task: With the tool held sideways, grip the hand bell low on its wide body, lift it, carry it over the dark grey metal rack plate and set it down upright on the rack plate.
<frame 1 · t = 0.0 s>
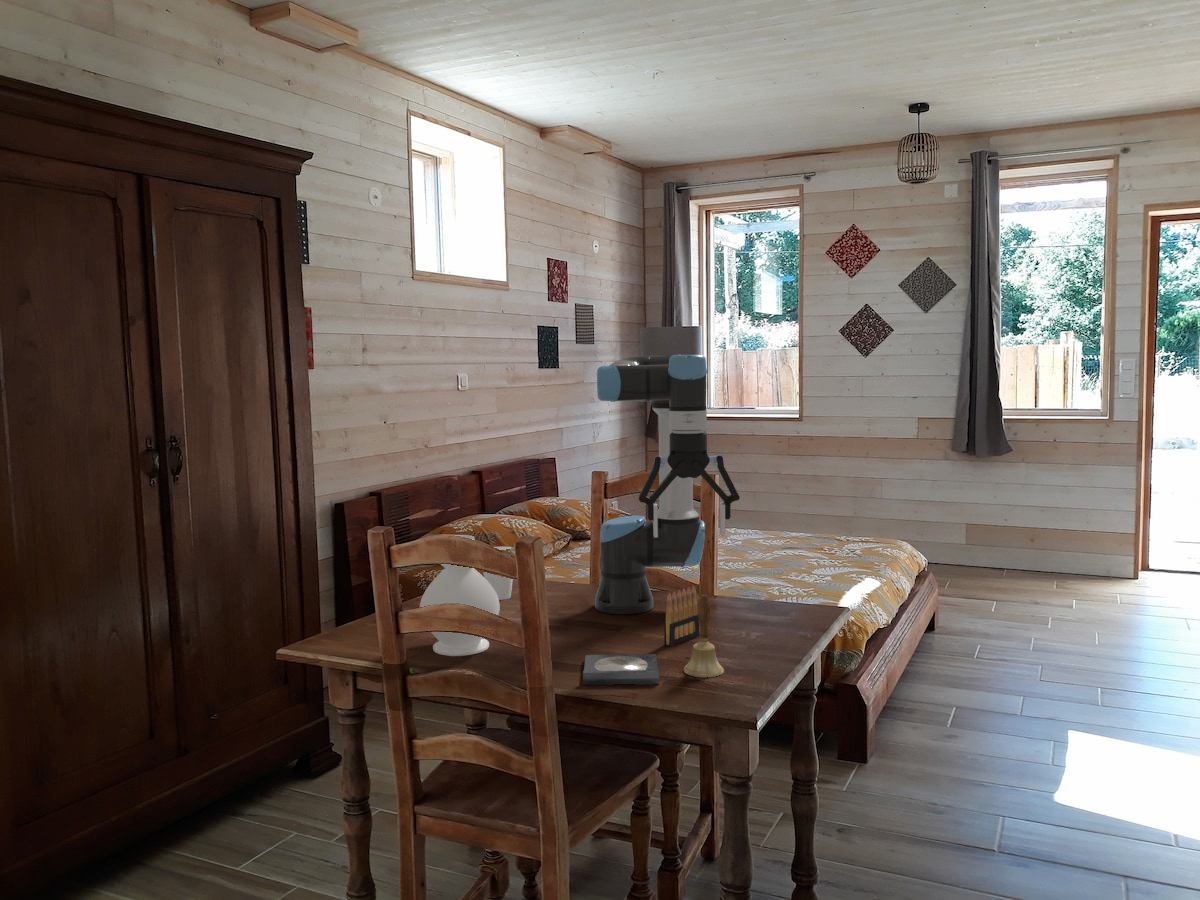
hand: (689, 535, 189), 28 cm above the table, tool pointing down, fingers open, 13 cm apart
decorative vase: (461, 648, 210), on the table
hand bell: (703, 672, 191), on the table
rack plate: (620, 671, 191), on the table
foam cup: (499, 597, 253), on the table
ammunition clip: (682, 641, 212), on the table
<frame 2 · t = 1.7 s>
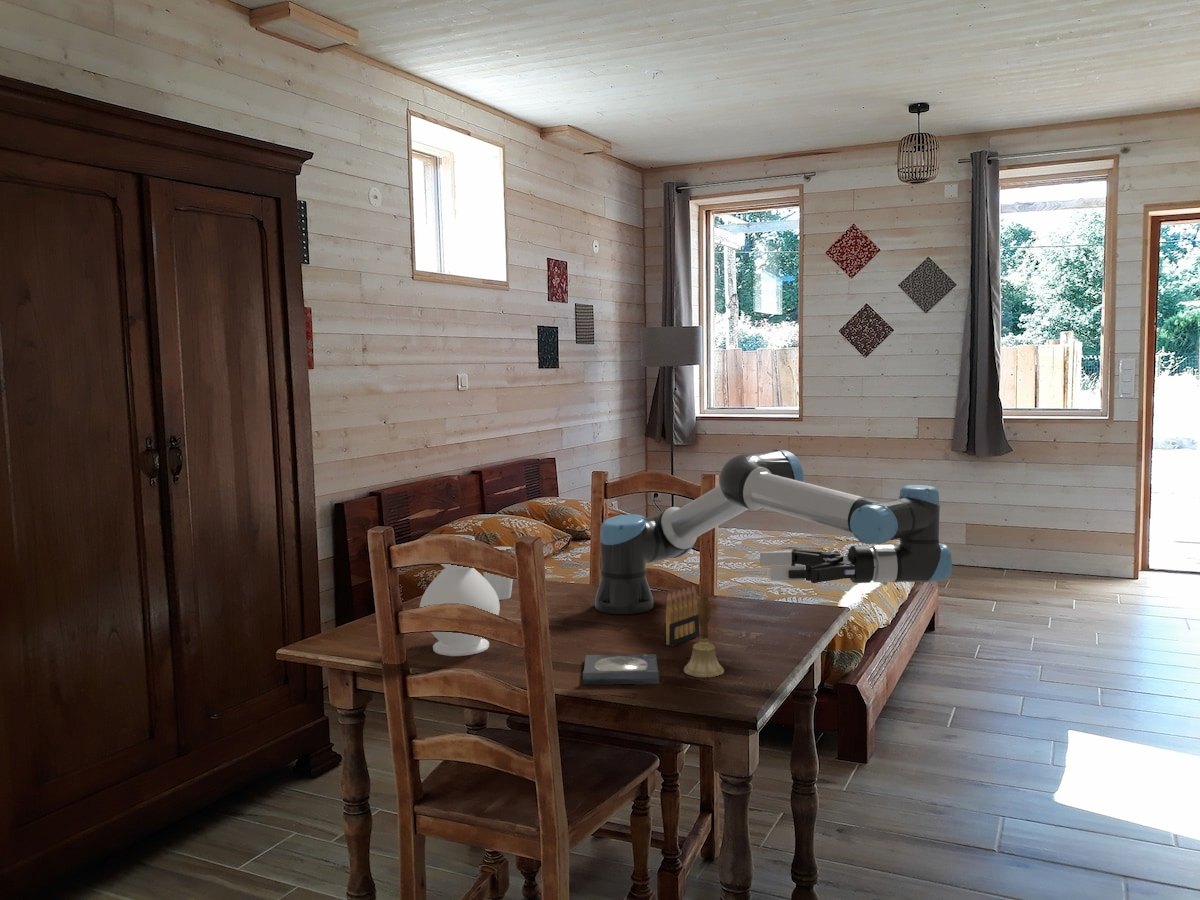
hand: (765, 565, 188), 22 cm above the table, tool horizontal, fingers open, 13 cm apart
nothing on the table moved.
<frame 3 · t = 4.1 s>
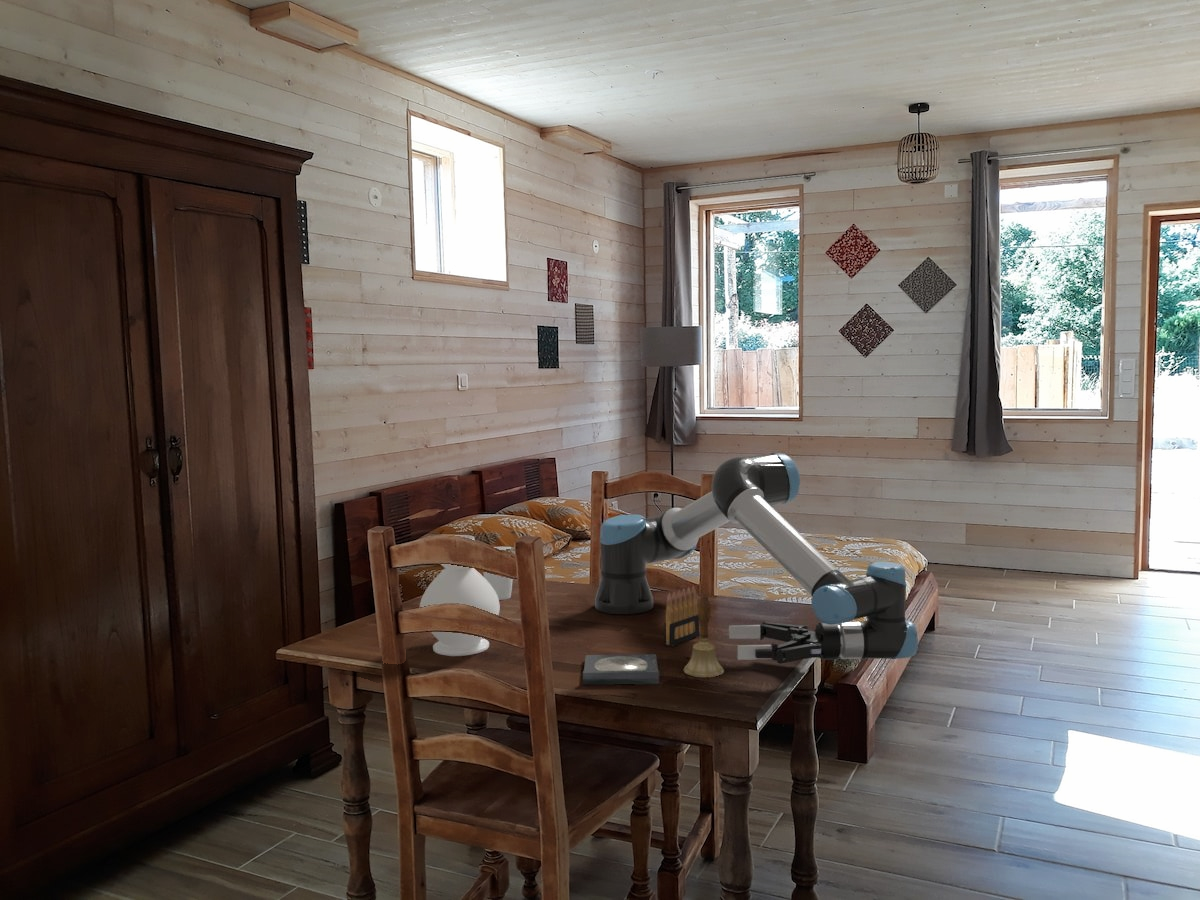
hand: (733, 641, 189), 6 cm above the table, tool horizontal, fingers open, 13 cm apart
nothing on the table moved.
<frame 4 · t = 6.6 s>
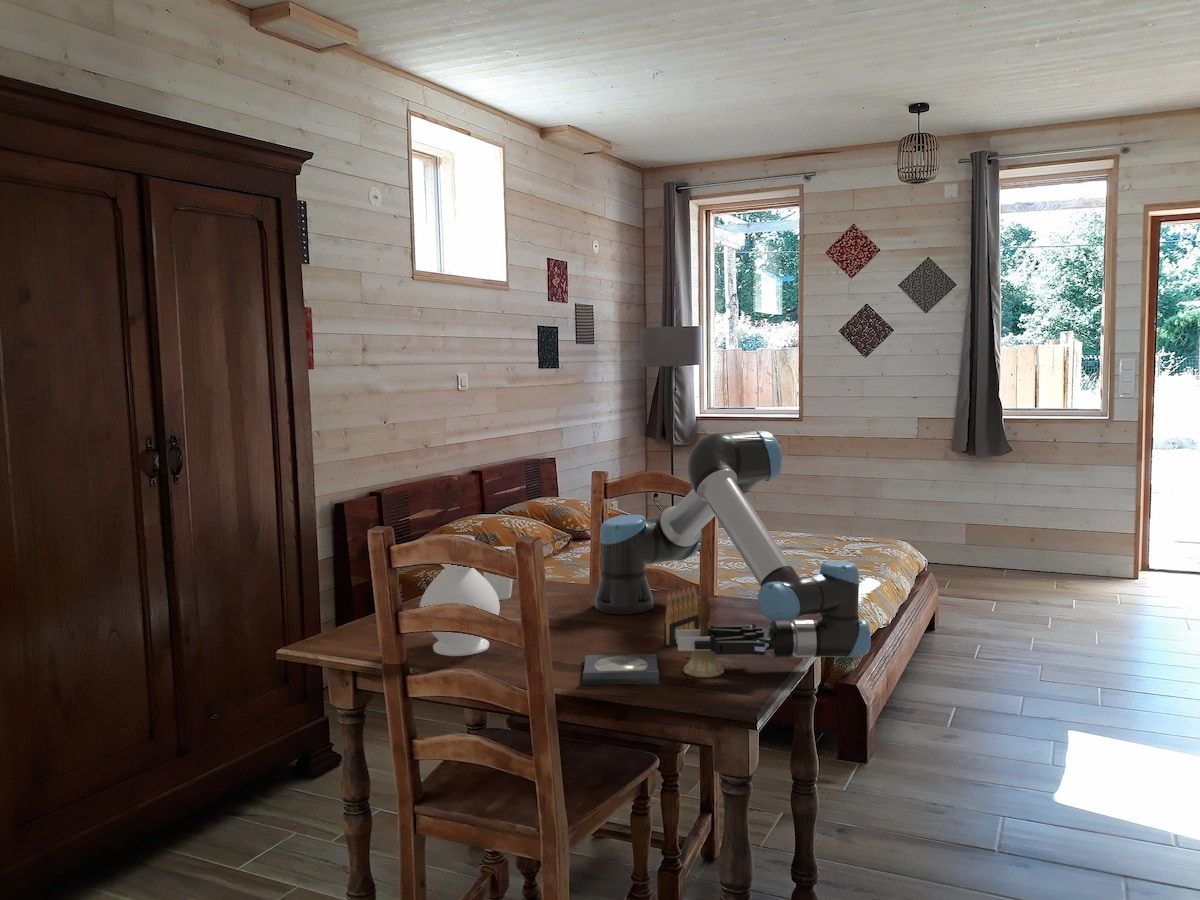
hand: (677, 640, 190), 7 cm above the table, tool horizontal, fingers closed on hand bell, 4 cm apart
hand bell: (703, 671, 191), on the table, touching gripper
everything else where it was.
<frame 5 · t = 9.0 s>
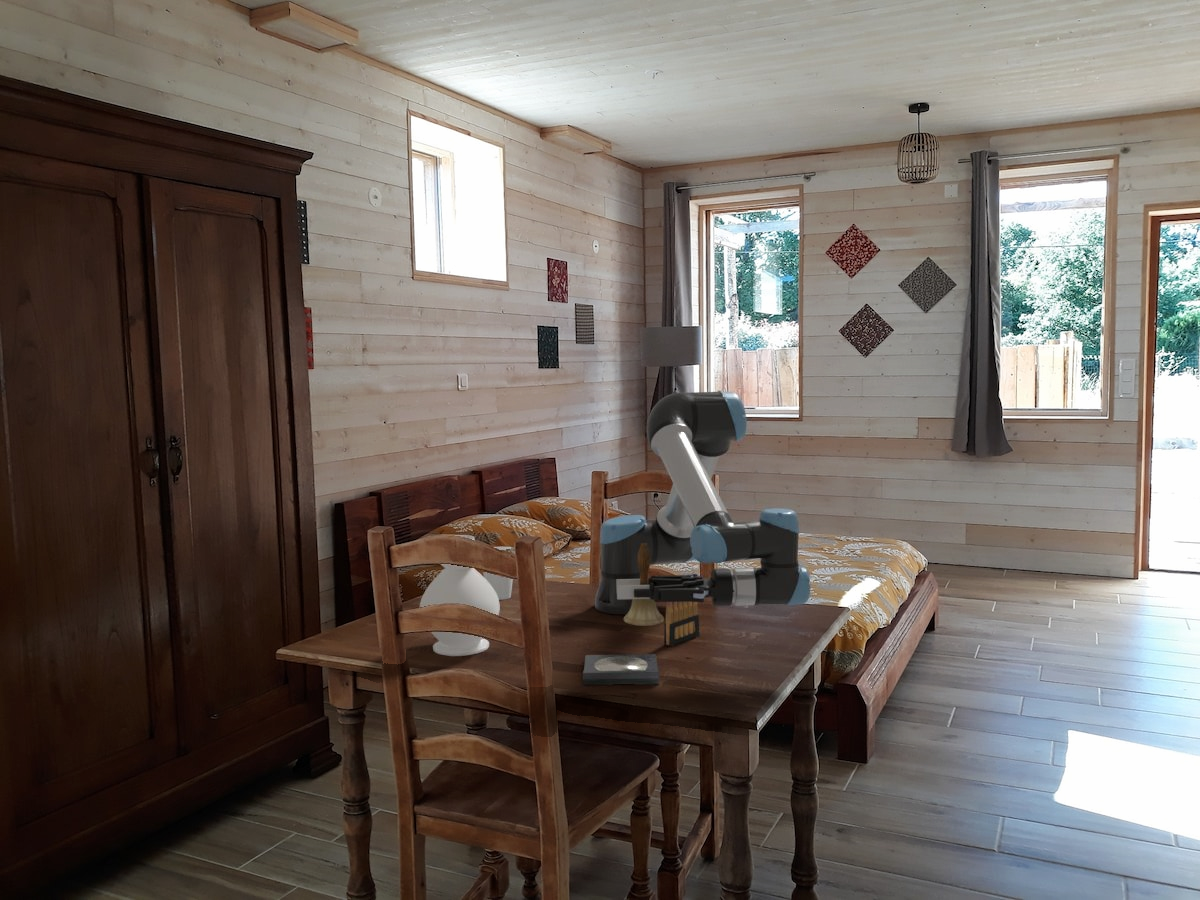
hand: (617, 589, 189), 18 cm above the table, tool horizontal, fingers closed on hand bell, 4 cm apart
hand bell: (643, 621, 189), point 11 cm above the table, touching gripper
everything else where it was.
when the fingers open (9 cm above the table, at t = 11.8 s): hand bell drops 1 cm, resting on rack plate.
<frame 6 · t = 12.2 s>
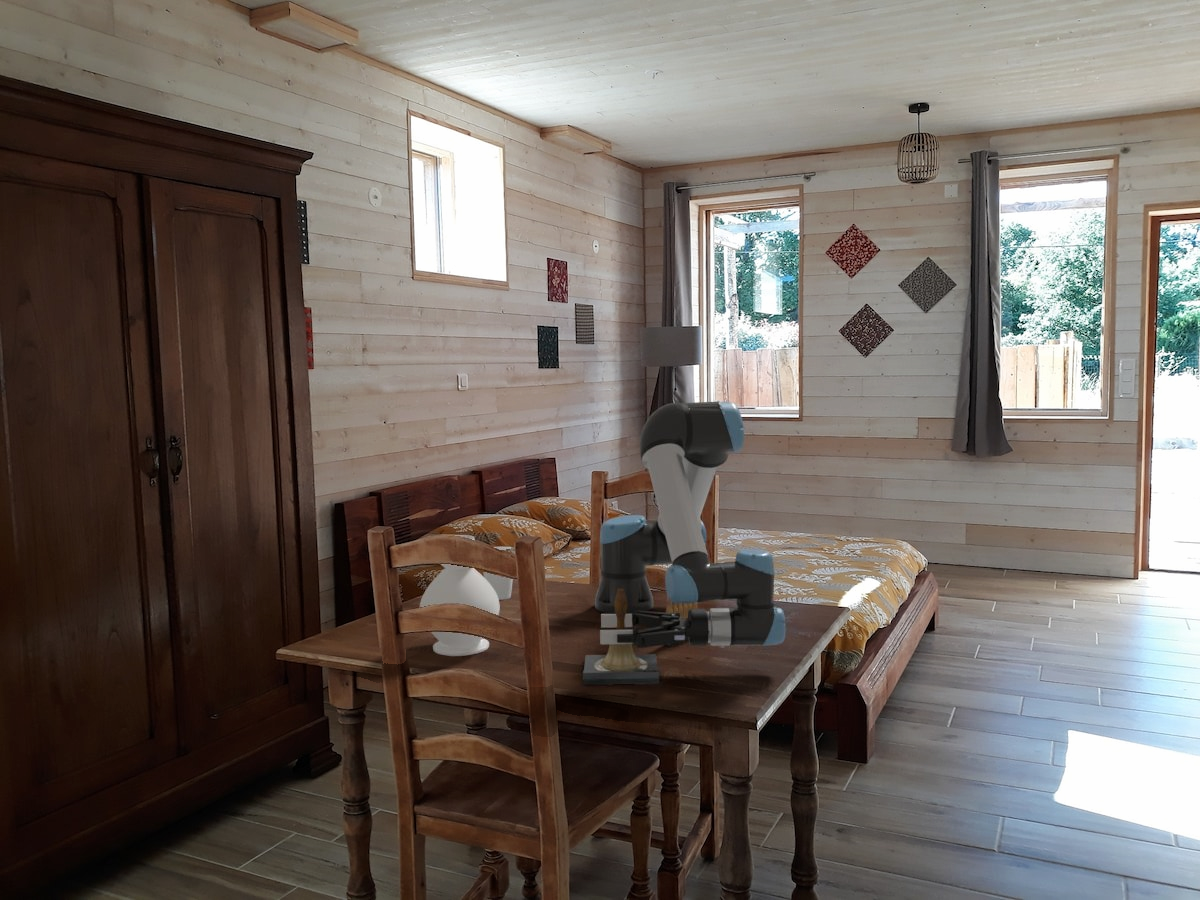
hand: (600, 628, 191), 9 cm above the table, tool horizontal, fingers open, 11 cm apart
hand bell: (620, 665, 191), point 1 cm above the table, touching rack plate
everything else where it was.
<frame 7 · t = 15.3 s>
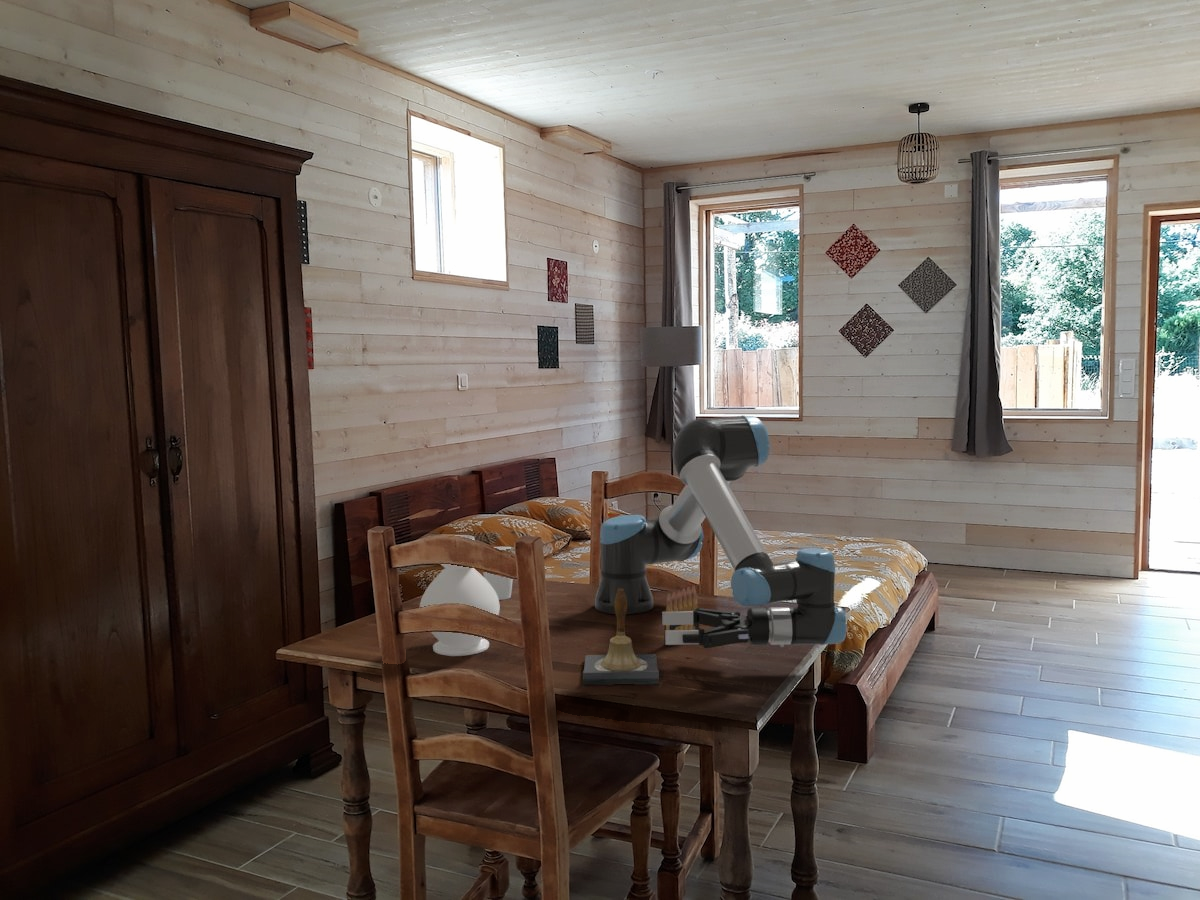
hand: (663, 627, 190), 9 cm above the table, tool horizontal, fingers open, 13 cm apart
nothing on the table moved.
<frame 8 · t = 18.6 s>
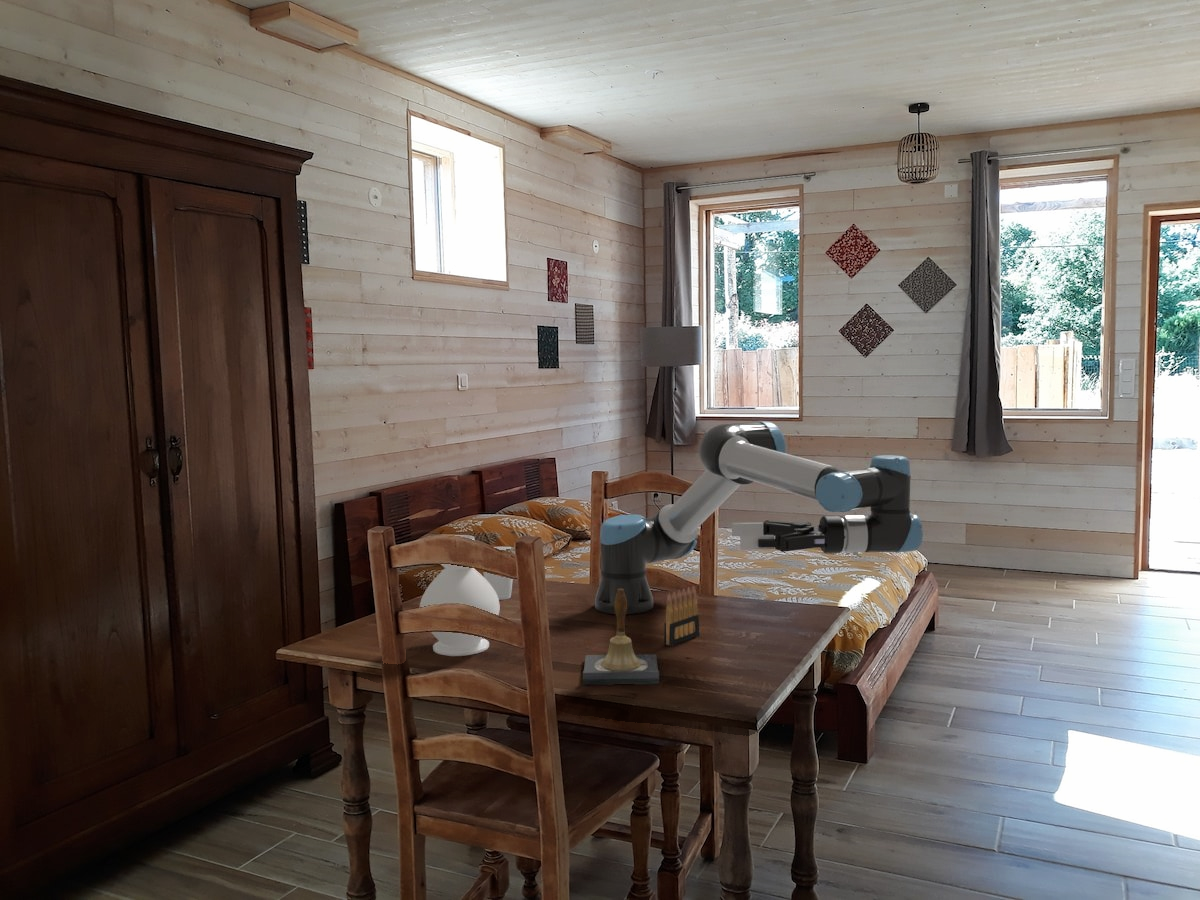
hand: (735, 535, 188), 28 cm above the table, tool horizontal, fingers open, 13 cm apart
nothing on the table moved.
at the end: hand bell inside the target area on the rack plate (0.0 cm from its centre), point 1.1 cm above the rack plate's base; hand bell tilted 0°; the gripper is holding nothing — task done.
